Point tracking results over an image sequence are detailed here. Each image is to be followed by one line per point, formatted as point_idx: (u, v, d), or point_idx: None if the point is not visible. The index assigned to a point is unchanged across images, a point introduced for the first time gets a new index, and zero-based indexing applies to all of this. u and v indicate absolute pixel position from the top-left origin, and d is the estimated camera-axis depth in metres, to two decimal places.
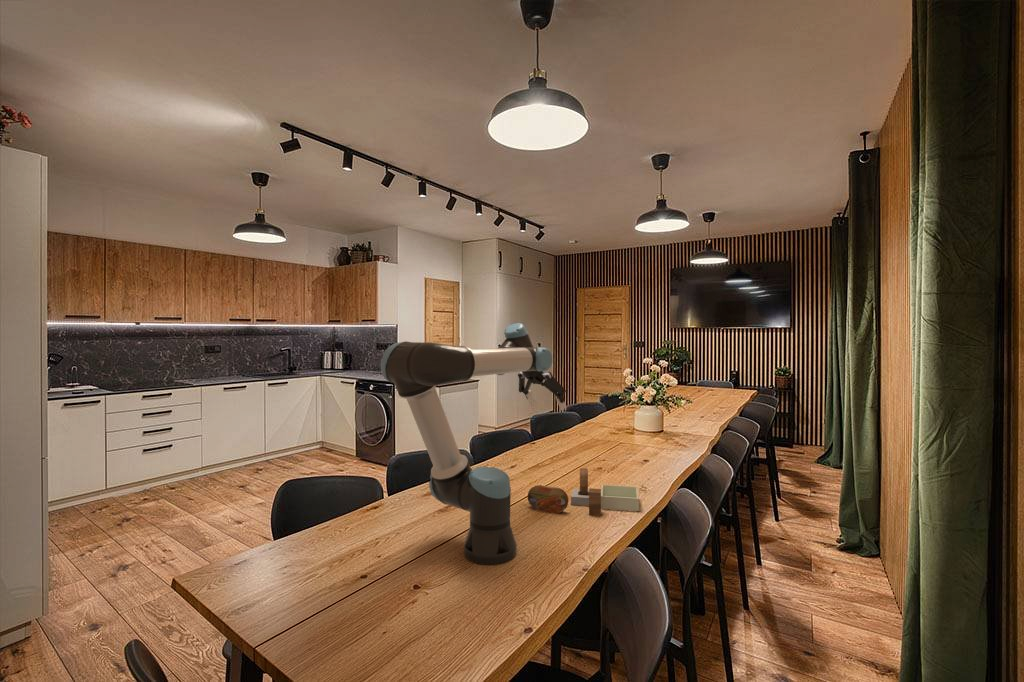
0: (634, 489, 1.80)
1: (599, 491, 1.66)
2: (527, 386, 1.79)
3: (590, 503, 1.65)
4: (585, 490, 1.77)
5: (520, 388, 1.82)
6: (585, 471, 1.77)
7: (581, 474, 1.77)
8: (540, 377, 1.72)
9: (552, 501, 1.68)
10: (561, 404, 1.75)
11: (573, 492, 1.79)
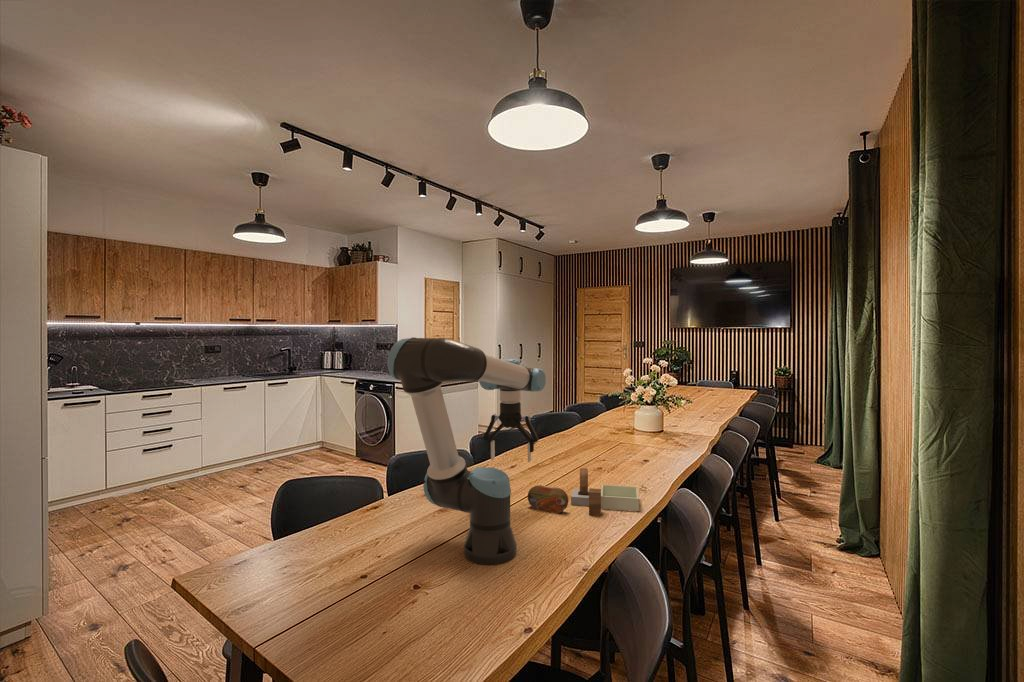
0: (634, 489, 1.80)
1: (599, 491, 1.66)
2: (497, 431, 1.73)
3: (590, 503, 1.65)
4: (585, 490, 1.77)
5: (486, 434, 1.73)
6: (585, 471, 1.77)
7: (581, 474, 1.77)
8: (518, 418, 1.71)
9: (552, 501, 1.68)
10: (529, 454, 1.71)
11: (573, 492, 1.79)
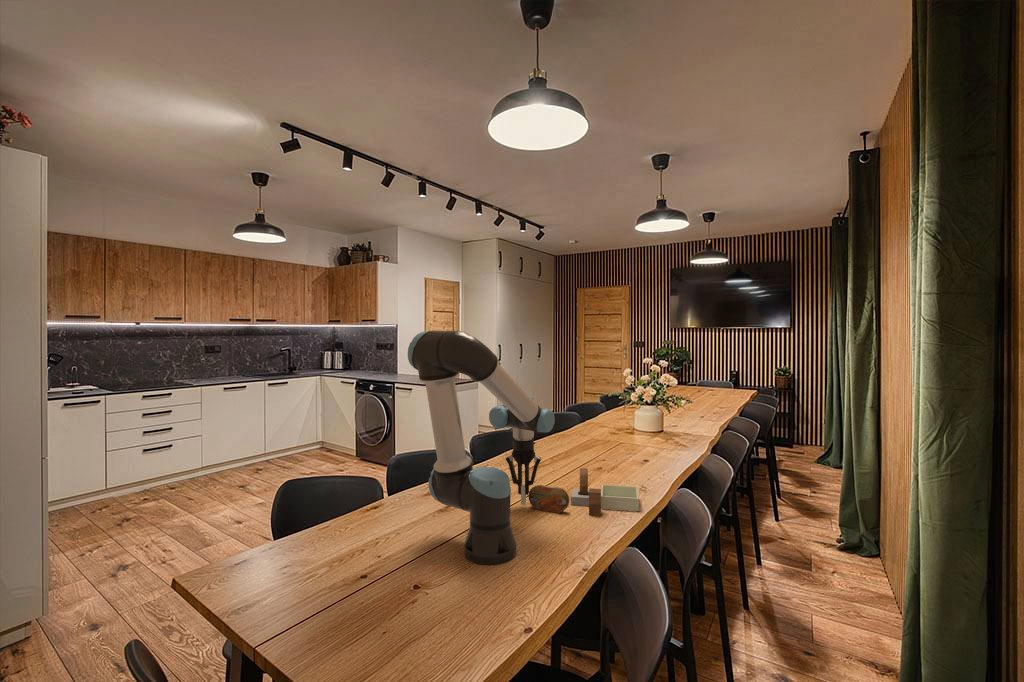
0: (634, 489, 1.80)
1: (599, 491, 1.66)
2: (519, 471, 1.71)
3: (590, 503, 1.65)
4: (585, 490, 1.77)
5: (513, 477, 1.71)
6: (585, 471, 1.77)
7: (581, 474, 1.77)
8: (531, 456, 1.70)
9: (553, 501, 1.68)
10: (525, 497, 1.71)
11: (573, 492, 1.79)
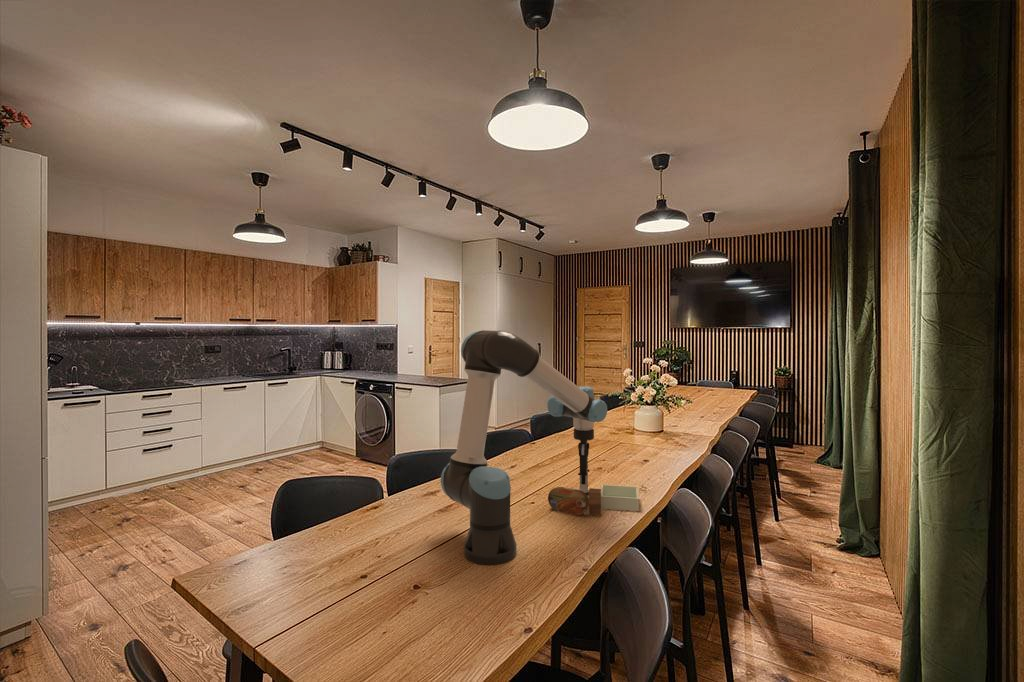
0: (634, 489, 1.80)
1: (599, 491, 1.66)
2: None
3: (590, 503, 1.65)
4: None
5: None
6: None
7: None
8: (580, 446, 1.75)
9: (572, 503, 1.66)
10: (581, 485, 1.77)
11: None
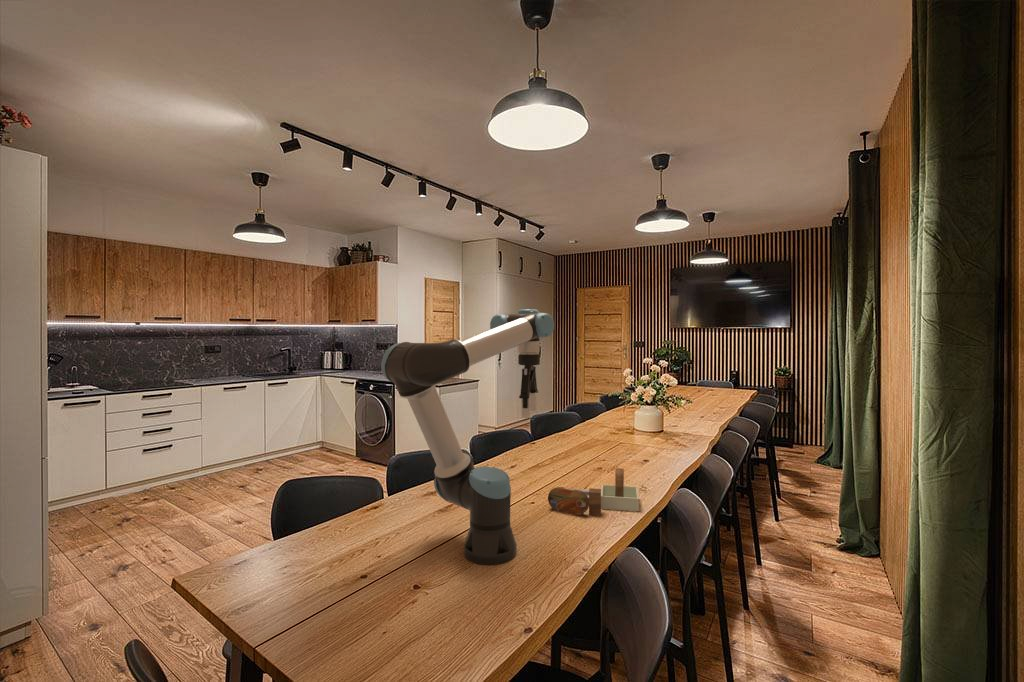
0: (634, 489, 1.80)
1: (599, 491, 1.66)
2: None
3: (590, 503, 1.65)
4: (621, 490, 1.74)
5: None
6: (621, 471, 1.75)
7: (617, 474, 1.75)
8: None
9: (572, 503, 1.66)
10: (523, 410, 1.60)
11: None
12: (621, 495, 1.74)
